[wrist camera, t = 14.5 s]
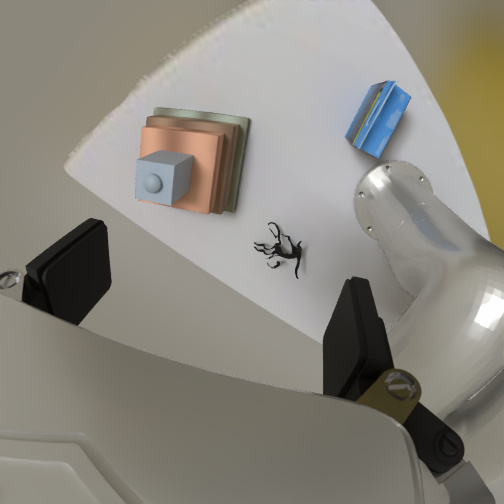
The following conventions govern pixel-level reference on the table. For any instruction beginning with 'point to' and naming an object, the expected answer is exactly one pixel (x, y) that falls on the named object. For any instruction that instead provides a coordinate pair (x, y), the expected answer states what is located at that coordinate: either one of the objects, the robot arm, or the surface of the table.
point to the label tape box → (378, 117)
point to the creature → (295, 252)
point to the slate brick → (163, 176)
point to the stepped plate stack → (201, 154)
